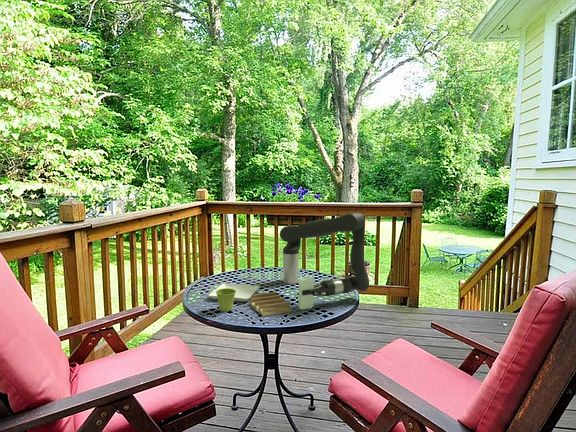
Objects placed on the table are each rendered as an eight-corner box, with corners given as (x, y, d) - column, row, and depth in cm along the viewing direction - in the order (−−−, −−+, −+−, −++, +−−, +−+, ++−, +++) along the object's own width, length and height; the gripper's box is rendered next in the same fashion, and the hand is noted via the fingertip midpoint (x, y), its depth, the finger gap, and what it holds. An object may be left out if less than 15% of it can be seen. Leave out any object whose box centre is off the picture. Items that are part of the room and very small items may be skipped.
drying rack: (249, 304, 184) (249, 295, 183) (275, 300, 190) (276, 291, 189) (262, 316, 169) (262, 306, 168) (291, 311, 175) (291, 302, 174)
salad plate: (248, 304, 184) (248, 298, 184) (207, 301, 188) (207, 294, 188) (260, 291, 205) (260, 285, 204) (223, 288, 209) (223, 282, 208)
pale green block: (298, 307, 180) (298, 278, 178) (310, 305, 183) (310, 277, 181) (301, 309, 177) (301, 280, 176) (313, 307, 180) (313, 278, 179)
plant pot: (237, 305, 181) (237, 288, 180) (235, 313, 172) (235, 294, 171) (217, 305, 181) (217, 288, 180) (214, 313, 172) (214, 294, 171)
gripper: (324, 276, 191) (293, 280, 184) (340, 283, 179) (308, 288, 171) (324, 290, 192) (293, 295, 184) (339, 299, 180) (307, 304, 172)
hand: (300, 291), depth 178 cm, fingers closed on pale green block, 2 cm apart
